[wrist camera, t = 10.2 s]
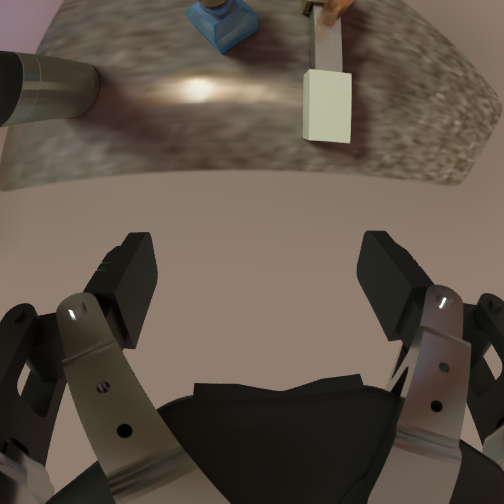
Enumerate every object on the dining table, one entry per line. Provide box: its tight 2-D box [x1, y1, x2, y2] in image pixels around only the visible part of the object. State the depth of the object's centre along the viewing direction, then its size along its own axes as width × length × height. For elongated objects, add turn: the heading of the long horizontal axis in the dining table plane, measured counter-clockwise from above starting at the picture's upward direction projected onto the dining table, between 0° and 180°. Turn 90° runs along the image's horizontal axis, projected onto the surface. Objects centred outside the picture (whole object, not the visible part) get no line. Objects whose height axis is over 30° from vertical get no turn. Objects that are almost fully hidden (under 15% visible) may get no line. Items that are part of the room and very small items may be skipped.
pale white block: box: [303, 69, 352, 143], centre depth 33 cm, size 5×9×5 cm, turn 0°
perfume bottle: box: [185, 0, 258, 54], centre depth 25 cm, size 6×6×12 cm
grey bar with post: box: [309, 0, 354, 72], centre depth 24 cm, size 3×16×13 cm, turn 0°
